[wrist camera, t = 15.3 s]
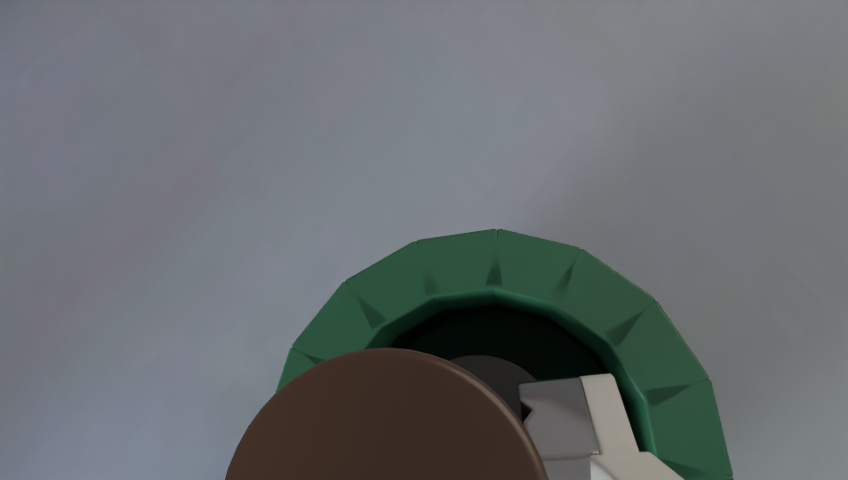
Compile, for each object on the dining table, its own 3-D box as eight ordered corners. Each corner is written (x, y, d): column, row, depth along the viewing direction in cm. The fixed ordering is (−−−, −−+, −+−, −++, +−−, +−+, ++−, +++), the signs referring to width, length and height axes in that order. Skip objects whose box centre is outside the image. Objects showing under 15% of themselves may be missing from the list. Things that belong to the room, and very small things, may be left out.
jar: (693, 413, 23) (827, 415, 13) (525, 654, 21) (536, 853, 12) (470, 250, 25) (445, 154, 16) (309, 456, 24) (176, 486, 14)
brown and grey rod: (552, 364, 20) (715, 186, 4) (555, 508, 19) (800, 1035, 3) (419, 361, 21) (111, 198, 5) (415, 501, 20) (-7, 909, 4)
